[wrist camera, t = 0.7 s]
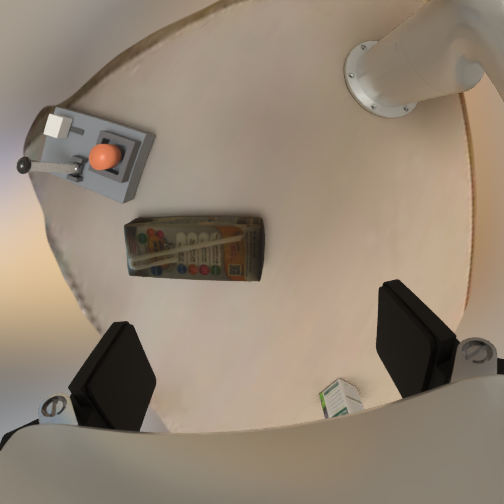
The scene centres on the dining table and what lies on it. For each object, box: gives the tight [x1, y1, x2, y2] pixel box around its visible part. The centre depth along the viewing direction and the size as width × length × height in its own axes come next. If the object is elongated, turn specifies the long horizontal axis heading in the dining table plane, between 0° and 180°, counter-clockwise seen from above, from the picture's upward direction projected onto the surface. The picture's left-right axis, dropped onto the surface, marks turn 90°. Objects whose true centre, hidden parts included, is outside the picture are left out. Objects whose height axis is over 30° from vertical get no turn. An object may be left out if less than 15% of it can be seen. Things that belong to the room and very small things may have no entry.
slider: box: [44, 114, 73, 138], centre depth 32 cm, size 3×3×2 cm
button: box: [89, 144, 121, 170], centre depth 31 cm, size 3×3×3 cm
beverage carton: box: [124, 216, 265, 281], centre depth 40 cm, size 8×19×7 cm, turn 89°
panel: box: [41, 107, 156, 204], centre depth 35 cm, size 10×17×6 cm, turn 67°
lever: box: [17, 157, 83, 176], centre depth 30 cm, size 2×2×10 cm
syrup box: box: [320, 378, 365, 419], centre depth 46 cm, size 6×6×14 cm
